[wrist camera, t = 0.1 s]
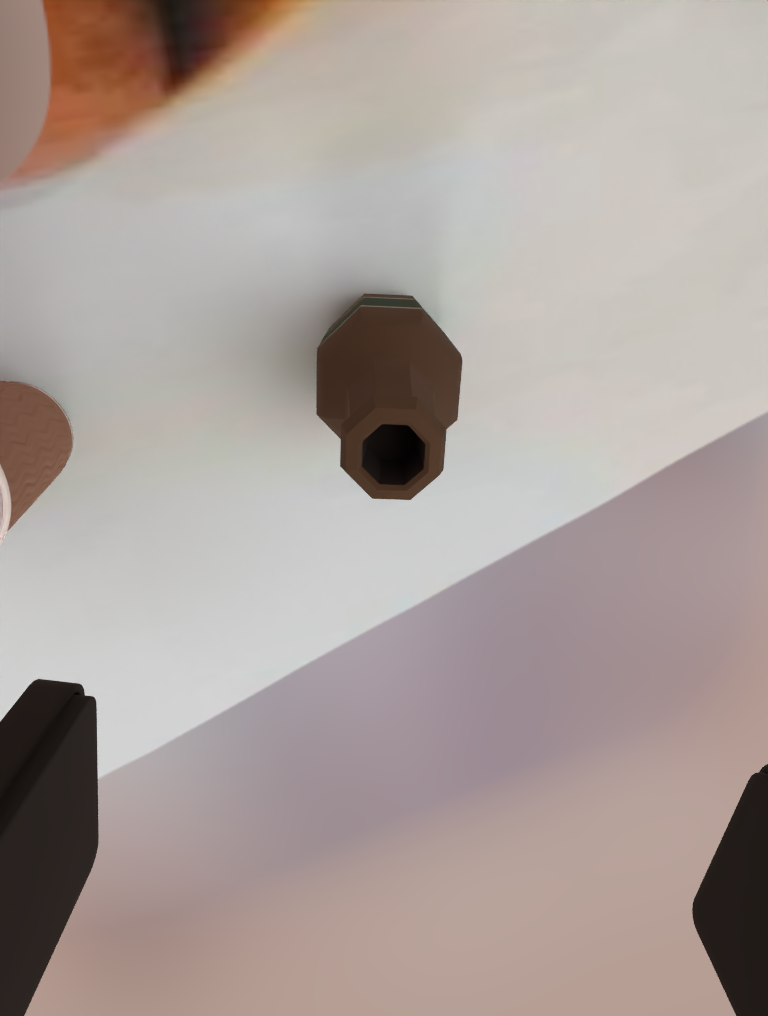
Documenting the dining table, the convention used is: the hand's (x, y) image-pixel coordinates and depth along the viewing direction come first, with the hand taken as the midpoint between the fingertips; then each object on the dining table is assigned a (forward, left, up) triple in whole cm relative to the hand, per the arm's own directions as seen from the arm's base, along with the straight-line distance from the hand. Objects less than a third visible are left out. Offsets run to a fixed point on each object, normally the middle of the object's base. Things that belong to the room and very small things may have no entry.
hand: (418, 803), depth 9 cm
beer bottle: (-1, 0, -38) cm, 38 cm away
